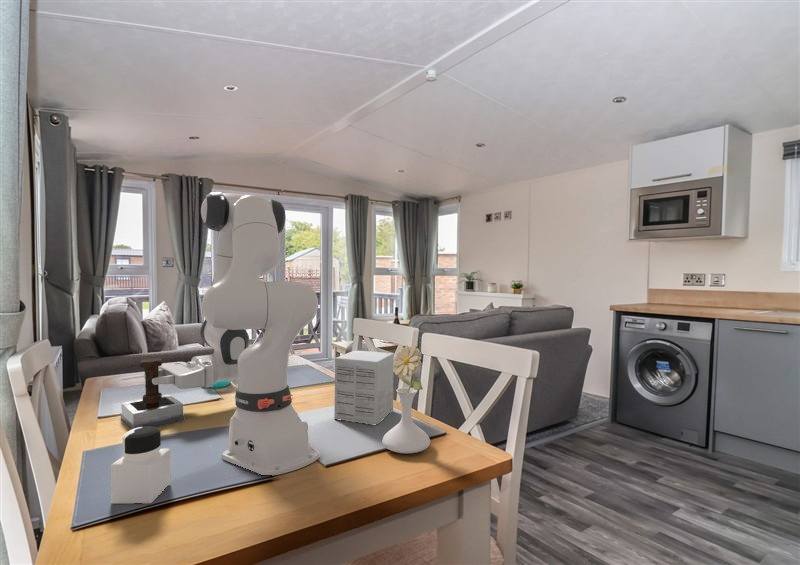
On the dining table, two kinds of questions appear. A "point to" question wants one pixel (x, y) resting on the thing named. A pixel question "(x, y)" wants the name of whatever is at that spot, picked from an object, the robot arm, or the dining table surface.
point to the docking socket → (152, 413)
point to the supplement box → (364, 386)
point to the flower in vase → (407, 406)
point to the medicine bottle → (140, 468)
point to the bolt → (152, 390)
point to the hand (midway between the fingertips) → (148, 378)
